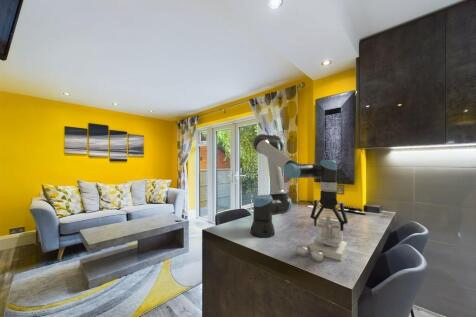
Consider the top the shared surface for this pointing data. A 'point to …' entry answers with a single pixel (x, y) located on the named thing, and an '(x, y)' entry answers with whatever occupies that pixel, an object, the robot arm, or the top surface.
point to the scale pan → (328, 240)
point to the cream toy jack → (328, 226)
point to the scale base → (333, 249)
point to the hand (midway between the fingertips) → (328, 234)
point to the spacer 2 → (317, 256)
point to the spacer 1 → (302, 251)
